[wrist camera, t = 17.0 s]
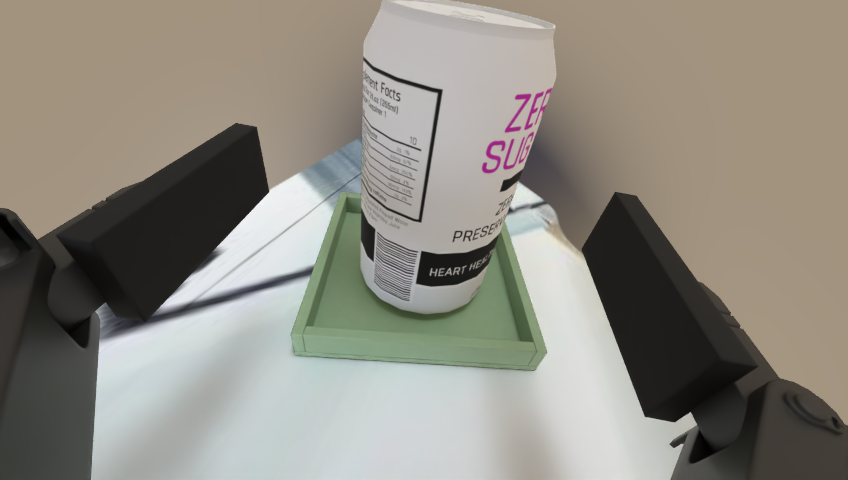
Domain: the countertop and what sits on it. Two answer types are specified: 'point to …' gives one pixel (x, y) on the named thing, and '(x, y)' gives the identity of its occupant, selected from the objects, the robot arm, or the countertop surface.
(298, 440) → the countertop surface
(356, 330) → the can tray
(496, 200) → the supplement can
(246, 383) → the countertop surface
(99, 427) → the countertop surface
